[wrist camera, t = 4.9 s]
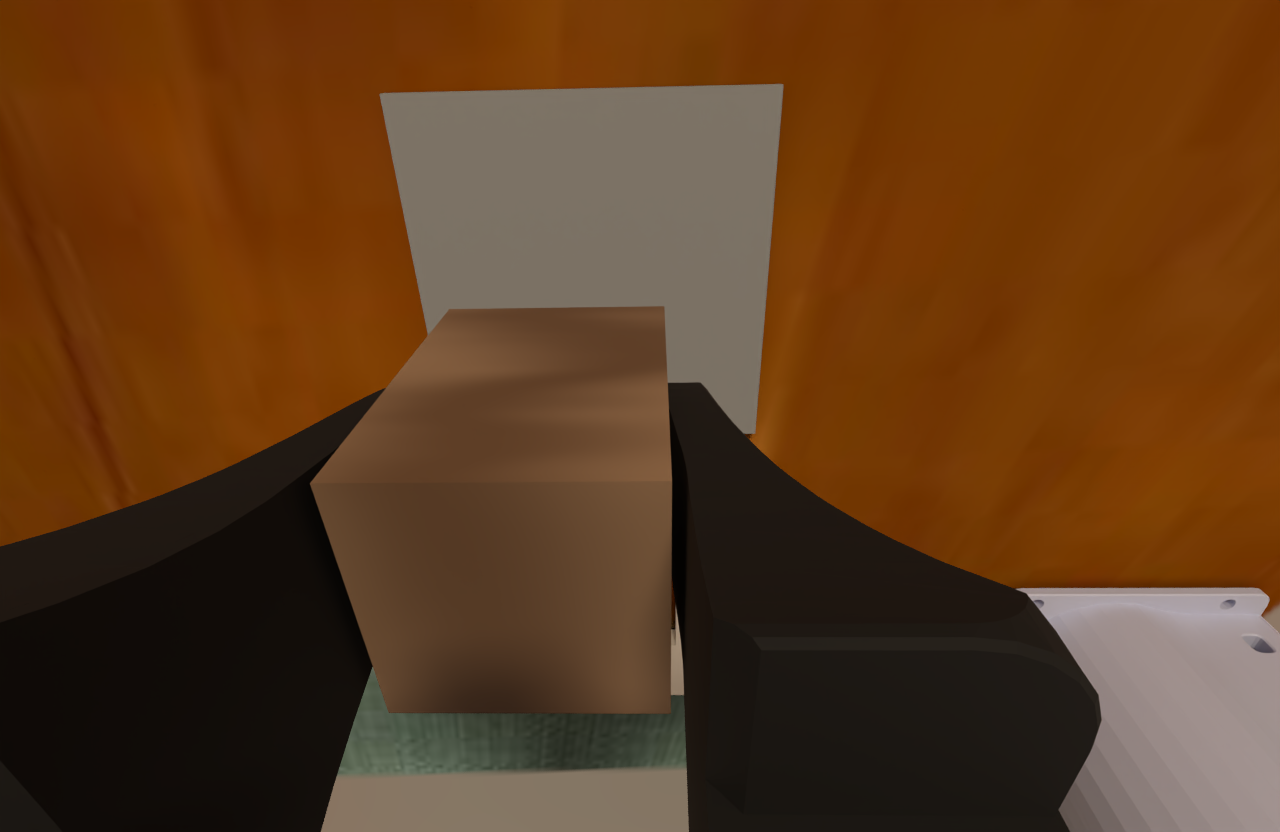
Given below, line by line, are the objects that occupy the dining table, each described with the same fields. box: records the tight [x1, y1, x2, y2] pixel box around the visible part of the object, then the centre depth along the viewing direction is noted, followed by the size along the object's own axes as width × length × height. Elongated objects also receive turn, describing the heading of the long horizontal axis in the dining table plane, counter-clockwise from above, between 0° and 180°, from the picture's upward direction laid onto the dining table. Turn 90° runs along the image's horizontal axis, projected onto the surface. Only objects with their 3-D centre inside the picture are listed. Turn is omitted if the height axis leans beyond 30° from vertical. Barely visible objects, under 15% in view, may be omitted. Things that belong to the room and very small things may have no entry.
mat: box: [380, 84, 783, 434], centre depth 18 cm, size 10×10×1 cm
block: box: [310, 306, 672, 714], centre depth 10 cm, size 4×4×6 cm
